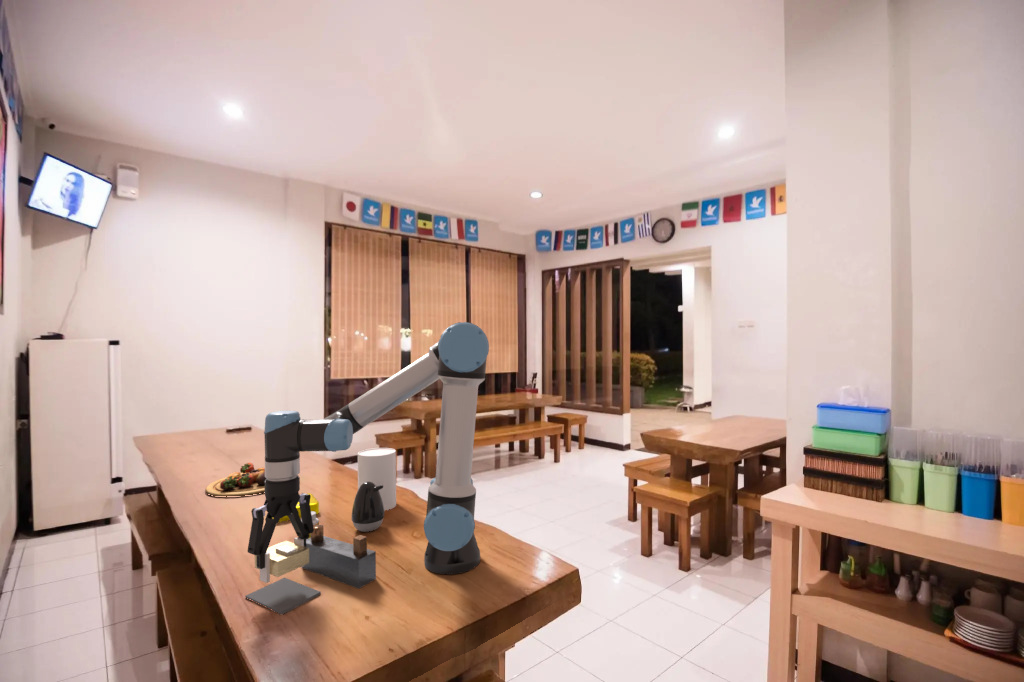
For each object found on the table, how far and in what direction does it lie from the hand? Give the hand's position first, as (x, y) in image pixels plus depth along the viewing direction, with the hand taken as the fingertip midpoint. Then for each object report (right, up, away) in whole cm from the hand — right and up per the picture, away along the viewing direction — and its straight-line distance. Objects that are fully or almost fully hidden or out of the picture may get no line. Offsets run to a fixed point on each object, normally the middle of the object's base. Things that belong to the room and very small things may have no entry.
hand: (282, 572), depth 112 cm
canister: (+5, -6, +62) cm, 63 cm away
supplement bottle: (-5, -6, +26) cm, 27 cm away
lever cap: (0, +2, 0) cm, 2 cm away
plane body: (+9, -6, +11) cm, 15 cm away
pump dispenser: (+8, -6, +41) cm, 42 cm away
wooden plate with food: (-57, -8, +90) cm, 107 cm away
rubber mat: (0, -6, 0) cm, 6 cm away
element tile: (-24, -7, +57) cm, 62 cm away
